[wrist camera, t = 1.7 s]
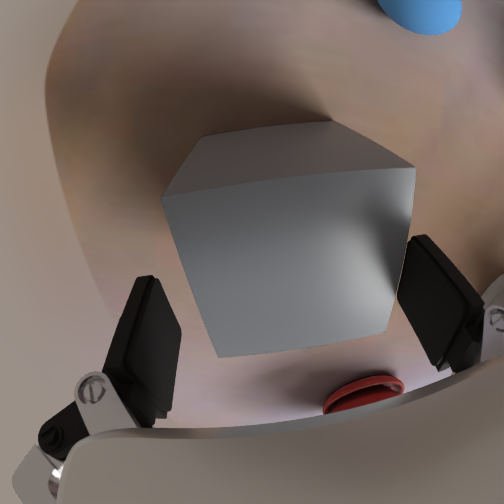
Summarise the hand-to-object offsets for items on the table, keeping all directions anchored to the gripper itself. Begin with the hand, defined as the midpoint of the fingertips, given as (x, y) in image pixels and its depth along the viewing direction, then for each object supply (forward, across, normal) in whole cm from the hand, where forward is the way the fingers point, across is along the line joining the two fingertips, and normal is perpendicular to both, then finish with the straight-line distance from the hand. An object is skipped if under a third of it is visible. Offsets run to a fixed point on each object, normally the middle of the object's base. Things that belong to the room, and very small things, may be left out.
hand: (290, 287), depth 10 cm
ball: (+6, -10, -12) cm, 17 cm away
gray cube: (+9, -1, 0) cm, 9 cm away
